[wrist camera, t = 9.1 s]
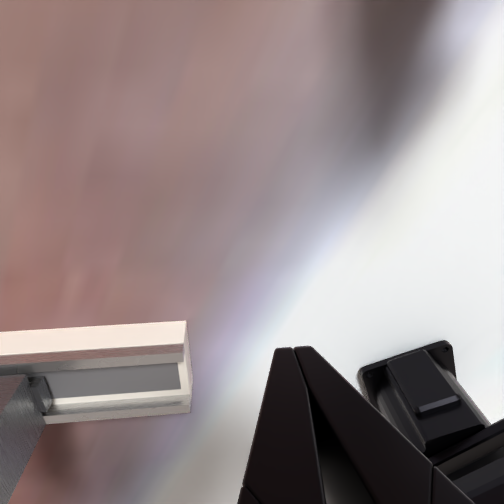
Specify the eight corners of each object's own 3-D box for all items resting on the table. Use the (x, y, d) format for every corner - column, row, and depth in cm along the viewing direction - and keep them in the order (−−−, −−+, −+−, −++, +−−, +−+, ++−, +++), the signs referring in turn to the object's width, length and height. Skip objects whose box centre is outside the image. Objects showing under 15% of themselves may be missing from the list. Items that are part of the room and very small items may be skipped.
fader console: (186, 320, 22) (180, 367, 19) (192, 378, 24) (188, 430, 21) (-51, 335, 21) (-104, 388, 18) (-21, 394, 23) (-63, 451, 20)
